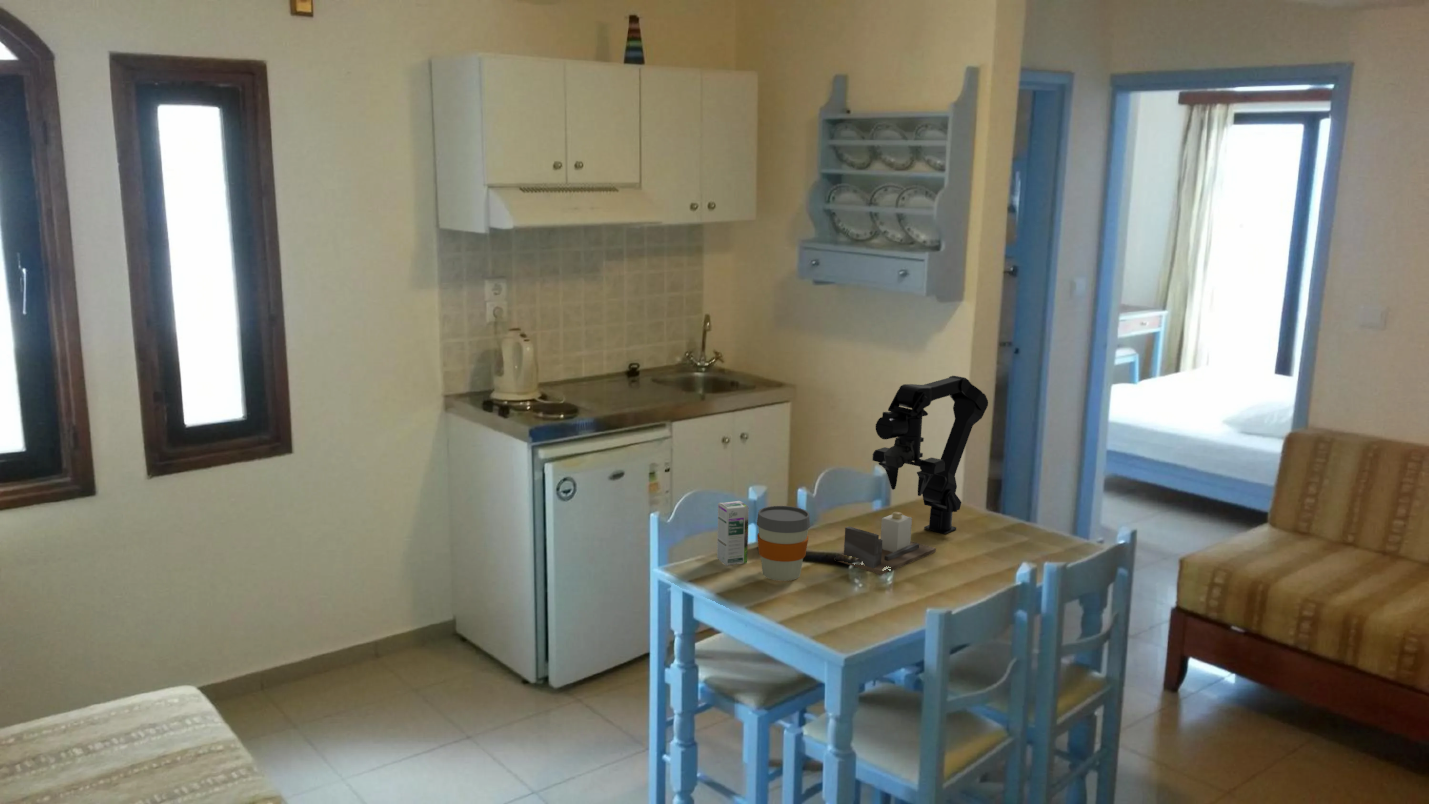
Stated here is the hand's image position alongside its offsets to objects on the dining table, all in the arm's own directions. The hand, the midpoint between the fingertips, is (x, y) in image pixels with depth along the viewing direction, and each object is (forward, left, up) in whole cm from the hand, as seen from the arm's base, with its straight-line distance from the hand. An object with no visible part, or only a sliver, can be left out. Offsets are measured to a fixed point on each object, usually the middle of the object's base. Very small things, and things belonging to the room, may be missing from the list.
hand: (906, 492), depth 282 cm
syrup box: (+45, -20, -13) cm, 51 cm away
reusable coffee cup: (+43, -6, -13) cm, 45 cm away
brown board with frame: (+14, +4, -13) cm, 19 cm away
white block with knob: (+10, +4, -12) cm, 16 cm away
